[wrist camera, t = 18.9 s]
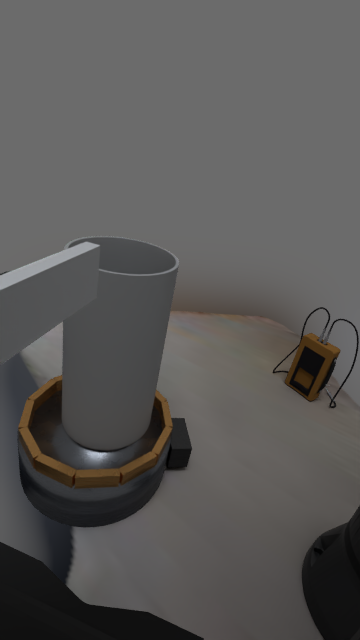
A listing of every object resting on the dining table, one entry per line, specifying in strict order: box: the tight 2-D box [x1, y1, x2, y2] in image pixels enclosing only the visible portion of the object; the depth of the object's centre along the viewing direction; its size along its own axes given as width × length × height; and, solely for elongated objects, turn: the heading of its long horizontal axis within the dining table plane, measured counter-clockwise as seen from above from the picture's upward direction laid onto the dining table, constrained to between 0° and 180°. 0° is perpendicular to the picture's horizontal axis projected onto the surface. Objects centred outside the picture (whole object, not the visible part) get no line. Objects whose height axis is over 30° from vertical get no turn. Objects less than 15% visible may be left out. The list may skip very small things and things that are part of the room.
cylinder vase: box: [62, 236, 179, 451], centre depth 44 cm, size 12×12×25 cm
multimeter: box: [273, 307, 359, 408], centre depth 74 cm, size 15×10×20 cm
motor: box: [18, 375, 192, 527], centre depth 50 cm, size 24×21×9 cm
